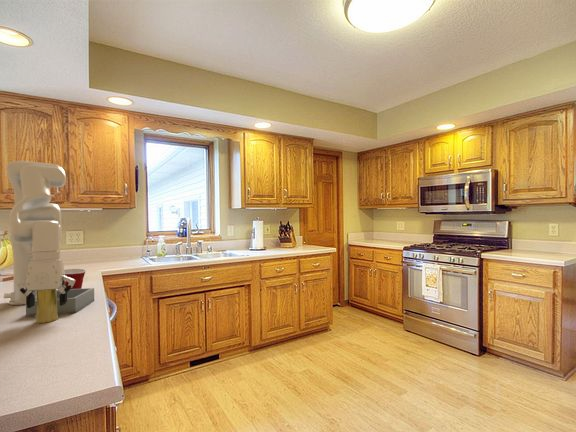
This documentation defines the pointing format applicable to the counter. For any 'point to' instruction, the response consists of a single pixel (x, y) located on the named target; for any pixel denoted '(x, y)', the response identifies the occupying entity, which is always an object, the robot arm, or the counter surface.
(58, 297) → the box
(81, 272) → the plastic cup
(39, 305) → the vase
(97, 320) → the counter surface
